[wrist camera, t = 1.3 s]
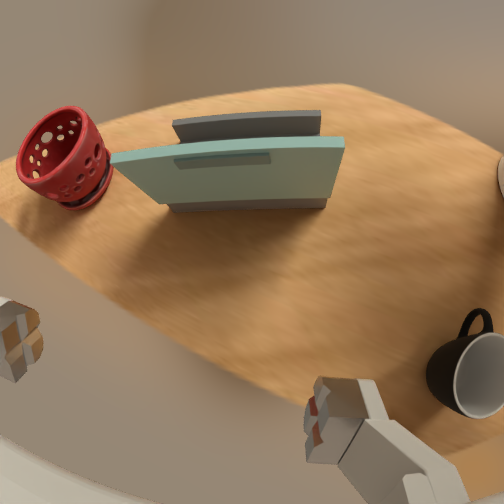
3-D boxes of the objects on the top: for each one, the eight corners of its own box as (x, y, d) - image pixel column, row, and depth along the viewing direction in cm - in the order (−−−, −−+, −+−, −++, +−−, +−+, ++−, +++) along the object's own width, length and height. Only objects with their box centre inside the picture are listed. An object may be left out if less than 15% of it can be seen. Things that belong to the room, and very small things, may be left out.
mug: (465, 407, 32) (506, 420, 22) (408, 400, 33) (442, 417, 23) (484, 318, 34) (528, 309, 25) (430, 306, 36) (468, 294, 26)
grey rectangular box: (318, 131, 44) (320, 110, 39) (325, 207, 41) (329, 190, 36) (183, 139, 46) (173, 120, 42) (174, 212, 43) (160, 197, 38)
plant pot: (98, 226, 44) (50, 194, 33) (47, 204, 47) (2, 174, 36) (137, 151, 47) (102, 105, 36) (83, 139, 50) (46, 101, 38)
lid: (343, 136, 24) (345, 150, 24) (329, 189, 36) (329, 200, 36) (111, 153, 26) (109, 166, 26) (159, 196, 38) (158, 206, 38)
